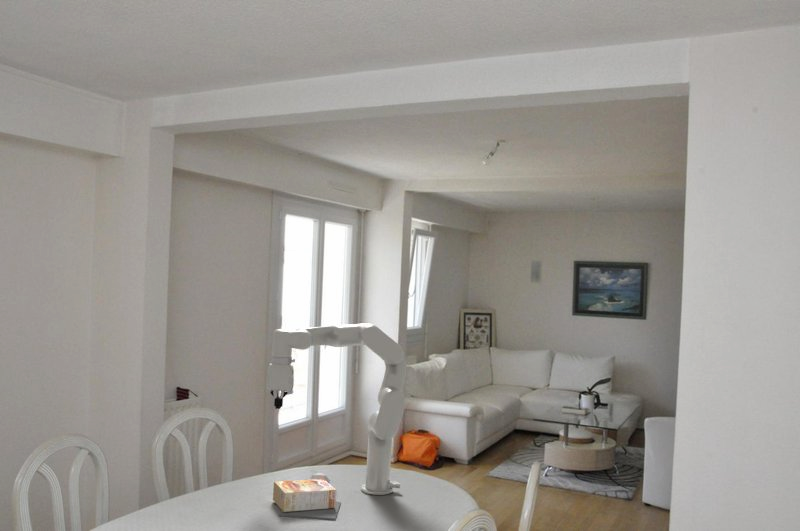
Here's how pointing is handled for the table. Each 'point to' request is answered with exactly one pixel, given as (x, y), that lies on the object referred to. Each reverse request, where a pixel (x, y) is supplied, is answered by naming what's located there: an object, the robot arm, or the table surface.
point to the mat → (314, 513)
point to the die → (320, 477)
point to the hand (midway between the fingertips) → (278, 408)
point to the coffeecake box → (304, 495)
